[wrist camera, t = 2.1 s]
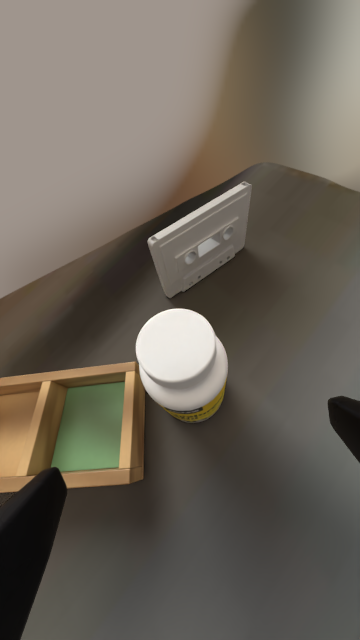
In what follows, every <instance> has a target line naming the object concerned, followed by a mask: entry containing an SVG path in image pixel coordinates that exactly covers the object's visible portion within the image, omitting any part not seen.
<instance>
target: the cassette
mask: <svg viewBox="0 0 360 640" xmlns="http://www.w3.org/2000/svg"><path fill="white" fill-rule="evenodd" d="M251 188H252V186H251V185H250V184H248V183H246V182H243V183H241V184H239V185H238V186H236V187H234V188H233V189H231V190H229V191H228V192H226V193H224V194H223V195H221V196H219V197H217V198H216V199H214V200H212V201H211V202H209V203H207V204H206V205H204V206H202V207H201V208H199V209H197V210H196V211H194V212H192V213H191V214H189V215H187V216H186V217H184V218H182V219H181V220H179V221H177V222H176V223H174V224H172V225H170V226H169V227H167V228H165V229H164V230H162V231H160V232H159V233H157V234H155V235H154V236H152V237H150V238H149V239H148V246H149V249H150V252H151V255H152V258H153V261H154V264H155V267H156V270H157V273H158V276H159V279H160V282H161V285H162V288H163V290H164V293H165V295H166V296H168V297H169V298H171V297H173V296H174V295H176V294H177V293H179V292H180V291H183V292H184V291H186V290H187V289H189V288H190V287H191V286H193V285H194V284H196V283H197V282H199V281H200V280H202V279H203V278H204V277H206V276H207V275H209V274H210V273H212V272H213V271H215V270H216V269H217V268H219V267H220V266H222V265H223V264H225V263H226V262H227V261H229V260H230V259H232V258H233V257H235V253H237V252H238V251H240V250H241V249H242V248H243V247H244V243H245V235H246V227H247V219H248V212H249V204H250V196H251Z"/></svg>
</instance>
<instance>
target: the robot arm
mask: <svg viewBox="0 0 360 640" xmlns="http://www.w3.org/2000/svg"><path fill="white" fill-rule="evenodd" d="M328 410H329V418H330V423H331V425H332V427H333V429H334V430H335V431H336V433H337V434H338V435H339V437H340V438H341V439H342V441H343V442H344V443H345V444H346V446H347V447H348V448H349V450H350V451H351V452H352V454H353V455H354V456H355V457H356V459H357V460H358V461H359V463H360V401H357V400H354V399H351V398H348V397H344V396H338V397H334V398H330V399H329V400H328ZM66 495H67V485H66V483H65V481H64V479H63V476H62V474H61V472H60V470H59V468H57V467H52V468H48V469H44V470H42V471H41V472H40V473H39V474H38V475H36V476H35V477H34V478H33V479H32V480H31V481H29V482H28V483H27V484H26V485H25V486H24V487H23V488H21V489H20V490H19V491H18V492H17V493H16V494H14V495H13V496H12V497H11V498H10V499H9V500H7V501H6V502H5V503H4V504H3V505H2V506H1V507H0V640H20V639H21V636H22V633H23V631H24V628H25V625H26V622H27V619H28V616H29V614H30V611H31V608H32V605H33V602H34V599H35V597H36V594H37V591H38V588H39V585H40V582H41V580H42V577H43V574H44V571H45V568H46V565H47V562H48V559H49V556H50V553H51V549H52V546H53V542H54V539H55V535H56V531H57V528H58V524H59V521H60V517H61V513H62V510H63V506H64V502H65V499H66Z"/></svg>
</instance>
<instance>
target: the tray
mask: <svg viewBox="0 0 360 640" xmlns="http://www.w3.org/2000/svg"><path fill="white" fill-rule="evenodd" d="M144 427H145V387H144V385H143V383H142V380H141V377H140V371H139V365H138V364H137V363H136V362H128V363H120V364H112V365H104V366H95V367H87V368H79V369H71V370H63V371H54V372H46V373H38V374H30V375H22V376H13V377H5V378H0V493H6V492H18V491H19V490H20V489H21V488H23V487H24V486H25V485H26V484H27V483H28V482H29V481H31V480H32V479H33V478H34V477H35V476H36V475H38V474H39V473H40V472H41V471H42V470H44V469H48V468H52V467H57V468H59V470H60V472H61V474H62V476H63V479H64V481H65V483H66V485H67V488H81V487H96V486H110V485H125V484H131V483H134V482H136V481H139V480H142V479H143V473H144Z"/></svg>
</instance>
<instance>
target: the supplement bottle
mask: <svg viewBox="0 0 360 640" xmlns="http://www.w3.org/2000/svg"><path fill="white" fill-rule="evenodd" d="M136 355H137V359H138V361H139V371H140V377H141V380H142V383H143V385H144V387H145V389H146V391H147V392H148V394H149V395H150V396H151V398H152V399H153V400H154V401H156V402H157V403H158V404H159V405H160V406H161V407H163V408H164V409H165V410H166V411H167V412H169V413H170V414H171V415H172V416H174V417H175V418H177V419H179V420H181V421H184V422H189V423H196V422H201V421H204V420H206V419H208V418H210V417H211V416H212V415H213V414H215V412H216V411H217V410H218V409H219V407H220V405H221V403H222V400H223V397H224V391H225V385H226V379H227V373H228V360H227V355H226V351H225V349H224V347H223V345H222V343H221V342H220V340H219V339H218V338H217V337H216V335H215V333H214V331H213V328H212V327H211V325H210V323H209V322H208V321H207V320H206V319H205V318H204V317H203V316H201V315H200V314H198V313H196V312H194V311H191V310H187V309H170V310H166V311H163V312H161V313H159V314H157V315H155V316H154V317H152V318H151V319H150V320H149V321H148V322H147V323H146V324H145V325H144V326H143V328H142V329H141V331H140V333H139V335H138V338H137V342H136Z"/></svg>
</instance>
